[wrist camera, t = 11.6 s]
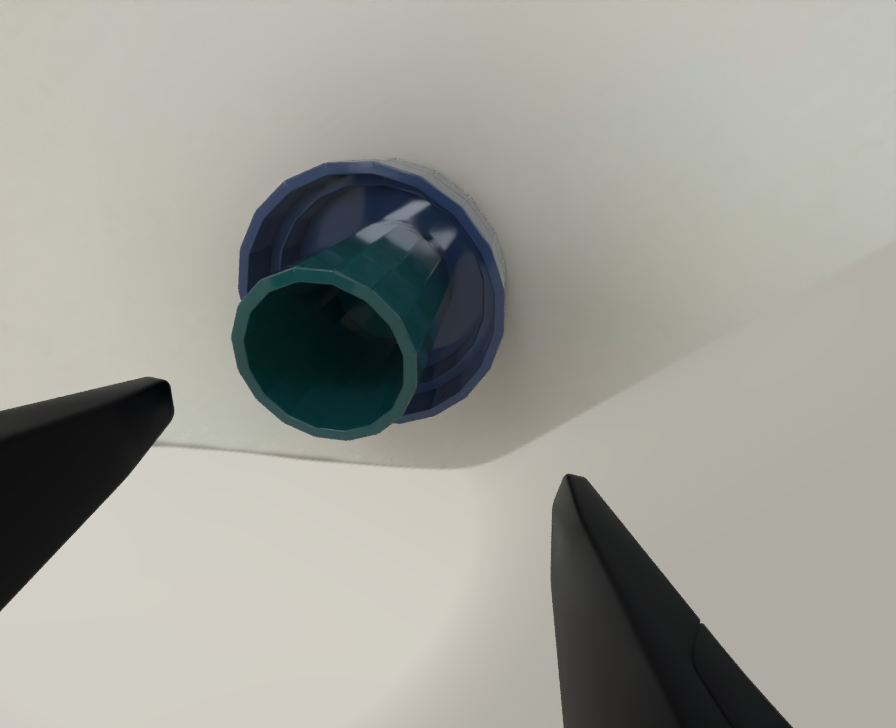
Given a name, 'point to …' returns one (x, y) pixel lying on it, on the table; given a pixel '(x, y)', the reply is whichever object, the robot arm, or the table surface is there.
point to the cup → (344, 331)
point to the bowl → (411, 204)
